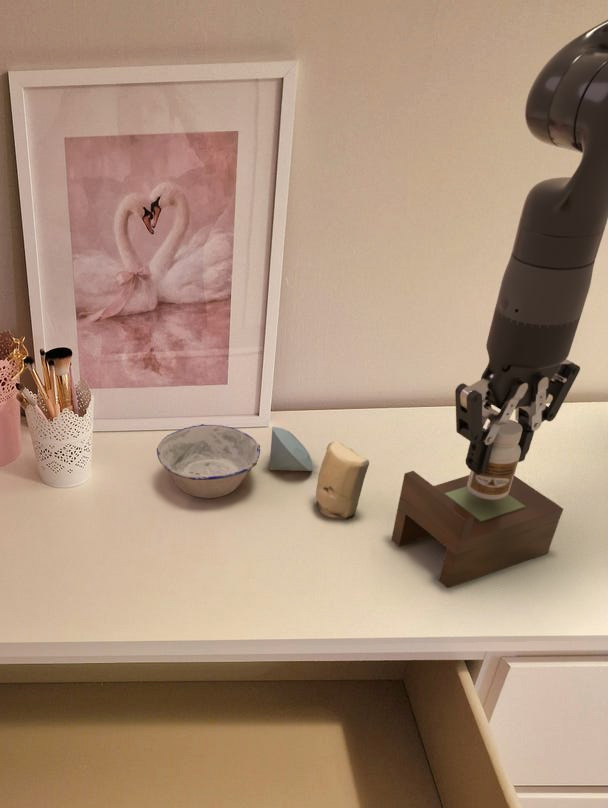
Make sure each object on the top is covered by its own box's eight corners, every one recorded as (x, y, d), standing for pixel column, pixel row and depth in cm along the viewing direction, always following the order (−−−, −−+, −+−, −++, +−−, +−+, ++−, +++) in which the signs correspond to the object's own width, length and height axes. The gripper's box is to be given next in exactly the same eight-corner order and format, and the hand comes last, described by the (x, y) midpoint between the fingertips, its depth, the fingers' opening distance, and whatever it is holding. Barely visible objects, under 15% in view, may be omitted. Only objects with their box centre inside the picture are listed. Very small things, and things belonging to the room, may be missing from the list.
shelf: (487, 508, 105) (506, 442, 99) (547, 553, 98) (572, 484, 92) (391, 539, 101) (404, 473, 95) (447, 588, 94) (465, 519, 88)
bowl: (228, 446, 118) (230, 414, 115) (276, 493, 109) (279, 459, 106) (141, 469, 115) (140, 436, 112) (184, 519, 106) (184, 485, 103)
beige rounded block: (365, 502, 107) (374, 444, 102) (357, 525, 104) (366, 467, 98) (318, 494, 109) (326, 437, 103) (309, 517, 105) (316, 459, 100)
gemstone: (254, 463, 109) (284, 435, 107) (245, 439, 115) (274, 412, 113) (294, 500, 112) (324, 474, 110) (283, 475, 118) (311, 450, 116)
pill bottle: (467, 499, 94) (483, 435, 89) (465, 477, 97) (481, 414, 92) (510, 503, 93) (529, 438, 88) (507, 481, 96) (526, 417, 91)
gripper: (506, 336, 77) (464, 499, 88) (629, 303, 80) (573, 464, 92) (450, 307, 82) (417, 464, 93) (568, 277, 86) (522, 432, 97)
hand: (495, 463), depth 93 cm, fingers closed on pill bottle, 4 cm apart
